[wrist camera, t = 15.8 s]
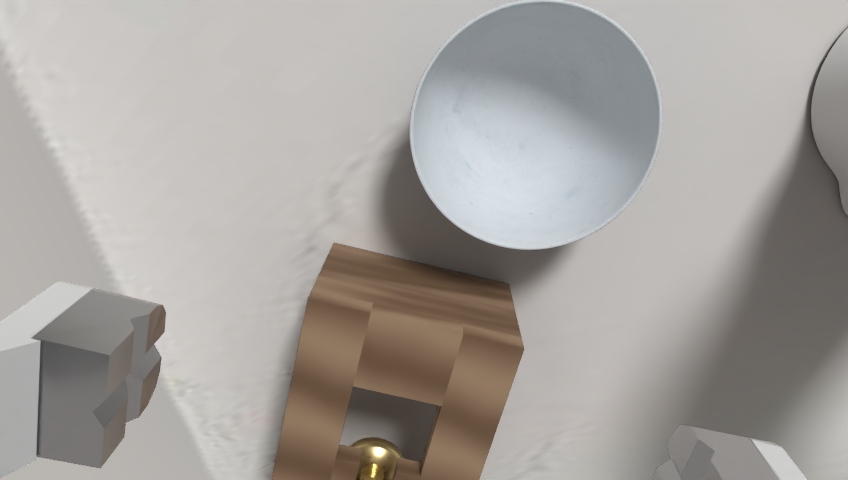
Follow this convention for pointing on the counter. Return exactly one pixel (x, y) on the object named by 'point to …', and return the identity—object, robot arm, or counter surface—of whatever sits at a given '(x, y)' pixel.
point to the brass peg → (376, 459)
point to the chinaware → (535, 124)
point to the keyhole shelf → (399, 363)
